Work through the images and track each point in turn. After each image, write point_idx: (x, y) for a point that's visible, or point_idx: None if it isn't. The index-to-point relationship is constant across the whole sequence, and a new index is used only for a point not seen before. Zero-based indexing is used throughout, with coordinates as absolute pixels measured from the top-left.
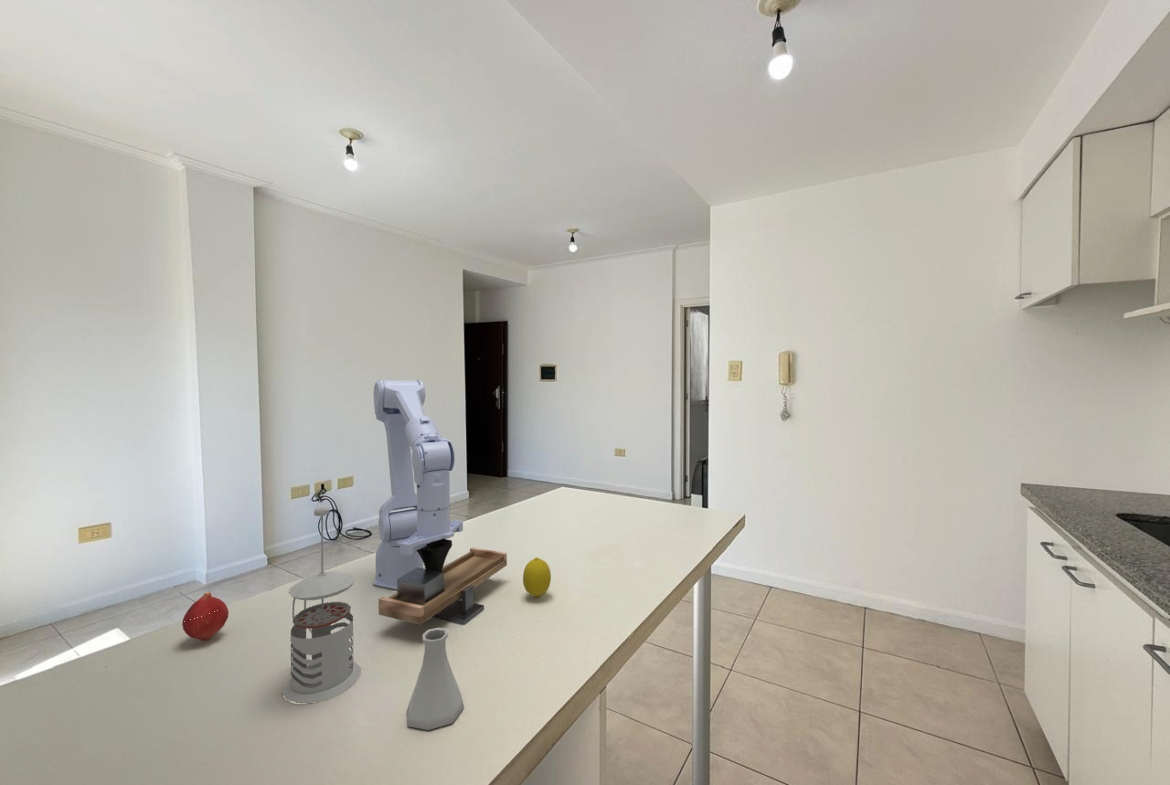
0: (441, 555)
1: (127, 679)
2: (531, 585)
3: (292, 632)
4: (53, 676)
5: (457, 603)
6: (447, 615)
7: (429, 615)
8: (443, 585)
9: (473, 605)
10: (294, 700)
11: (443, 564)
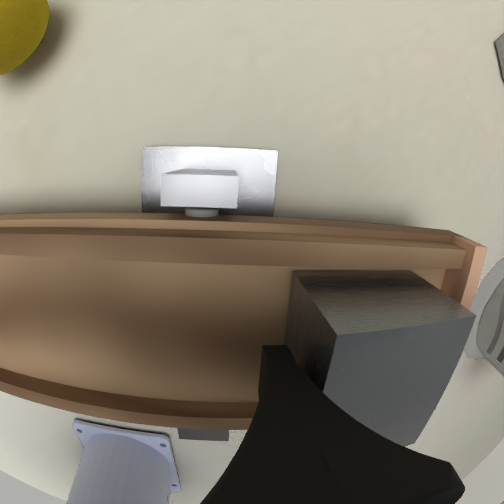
0: (345, 454)
1: (456, 465)
2: (39, 5)
3: None
4: None
5: None
6: None
7: (422, 229)
8: (313, 291)
9: (181, 169)
10: None
11: (267, 399)
